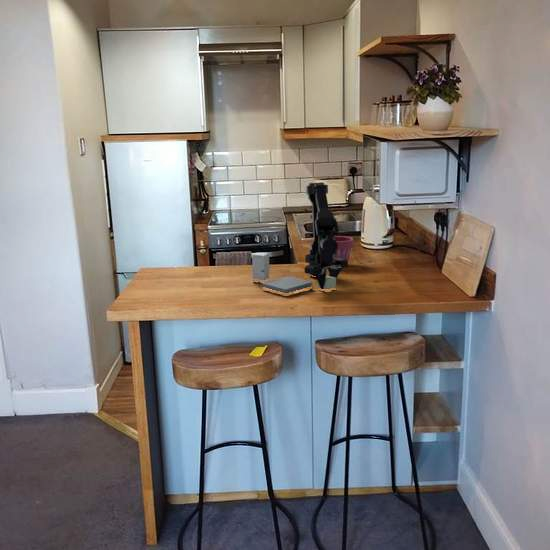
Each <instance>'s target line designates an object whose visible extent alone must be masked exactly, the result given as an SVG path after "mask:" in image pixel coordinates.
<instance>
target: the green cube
mask: <svg viewBox="0 0 550 550" xmlns="http://www.w3.org/2000/svg"><path fill="white" fill-rule="evenodd" d="M318 287H319V288H320V285H319V283H318V282H317V288H318ZM334 287H336V288H337V279H336V278H335V277H331V276H326V278H325V284H324V289H330V288H334Z"/></svg>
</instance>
